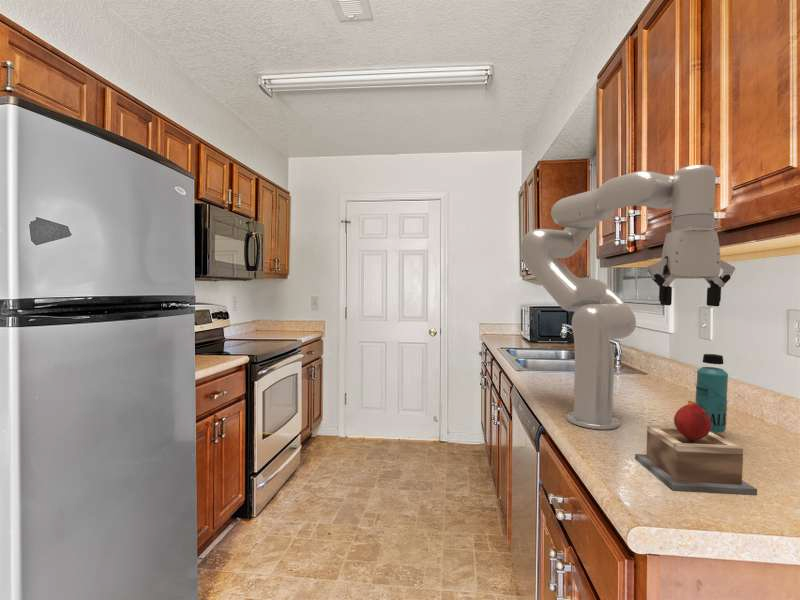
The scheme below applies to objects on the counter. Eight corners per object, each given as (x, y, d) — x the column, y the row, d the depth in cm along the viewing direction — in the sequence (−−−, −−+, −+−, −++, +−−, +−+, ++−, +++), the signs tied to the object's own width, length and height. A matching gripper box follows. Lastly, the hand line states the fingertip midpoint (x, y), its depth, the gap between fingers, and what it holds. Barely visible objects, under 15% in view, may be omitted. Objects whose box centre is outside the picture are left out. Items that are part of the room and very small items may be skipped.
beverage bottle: (702, 428, 109) (705, 351, 108) (732, 437, 103) (735, 355, 102) (687, 432, 106) (690, 353, 105) (717, 440, 100) (720, 357, 99)
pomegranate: (696, 436, 84) (698, 396, 83) (718, 447, 78) (719, 404, 78) (667, 435, 84) (668, 395, 83) (686, 446, 78) (687, 403, 78)
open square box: (635, 458, 88) (636, 423, 88) (705, 461, 87) (706, 426, 87) (672, 490, 74) (674, 448, 74) (756, 494, 73) (758, 452, 73)
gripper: (722, 228, 93) (719, 305, 93) (641, 228, 94) (638, 304, 95) (748, 223, 86) (744, 307, 86) (659, 222, 87) (656, 305, 87)
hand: (689, 305), depth 90 cm, fingers open, 9 cm apart
